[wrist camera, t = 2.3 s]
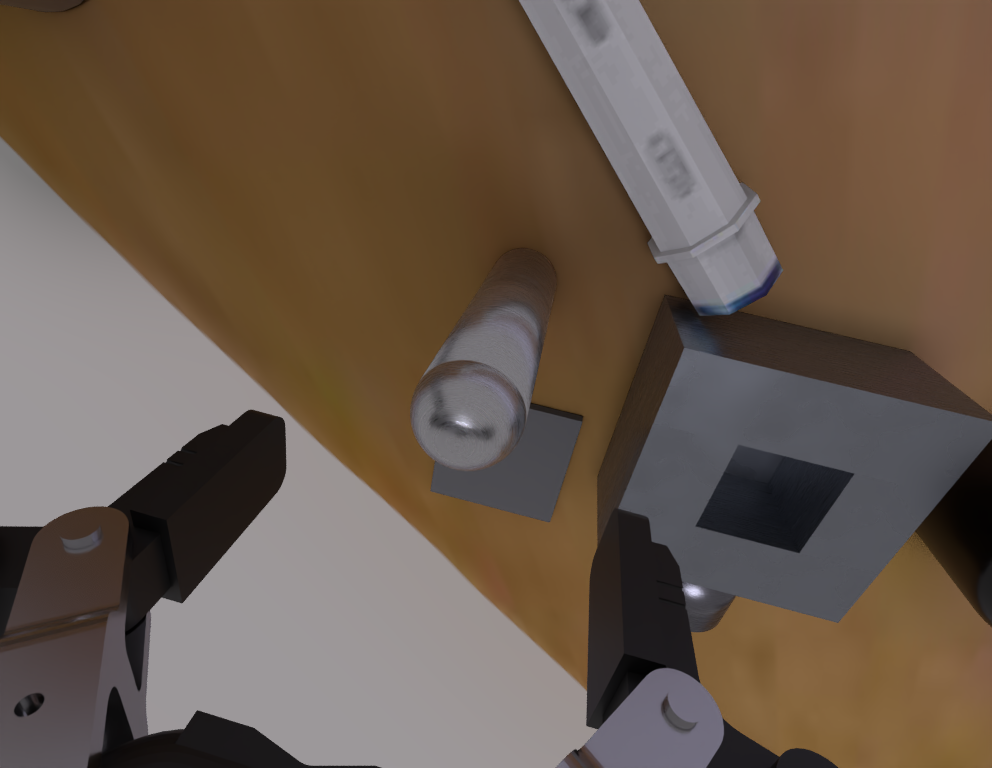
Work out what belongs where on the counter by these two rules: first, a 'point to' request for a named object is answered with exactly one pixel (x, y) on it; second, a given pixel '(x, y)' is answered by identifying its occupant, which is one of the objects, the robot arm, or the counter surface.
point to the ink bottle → (966, 533)
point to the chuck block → (781, 458)
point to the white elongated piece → (660, 150)
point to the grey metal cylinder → (487, 367)
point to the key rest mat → (520, 468)
